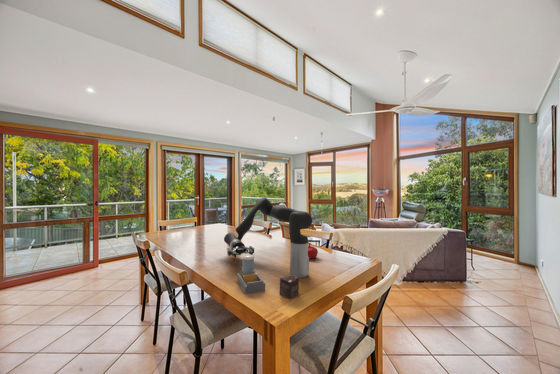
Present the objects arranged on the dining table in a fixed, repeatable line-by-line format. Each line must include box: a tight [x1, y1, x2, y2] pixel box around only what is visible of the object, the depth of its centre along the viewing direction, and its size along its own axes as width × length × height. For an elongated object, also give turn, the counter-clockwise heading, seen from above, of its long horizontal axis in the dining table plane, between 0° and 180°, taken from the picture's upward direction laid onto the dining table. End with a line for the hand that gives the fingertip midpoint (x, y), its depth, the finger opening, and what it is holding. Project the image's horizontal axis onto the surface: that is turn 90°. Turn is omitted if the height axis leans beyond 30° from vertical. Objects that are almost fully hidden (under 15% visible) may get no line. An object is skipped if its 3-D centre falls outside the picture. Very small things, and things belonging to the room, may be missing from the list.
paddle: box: [243, 273, 258, 284], centre depth 107 cm, size 7×1×4 cm, turn 113°
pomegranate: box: [308, 243, 319, 260], centre depth 147 cm, size 10×10×9 cm
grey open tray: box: [237, 270, 266, 295], centre depth 106 cm, size 9×16×4 cm, turn 23°
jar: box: [241, 254, 255, 278], centre depth 110 cm, size 6×6×12 cm
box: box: [279, 273, 300, 300], centre depth 97 cm, size 6×6×7 cm
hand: (243, 254), depth 118 cm, fingers open, 8 cm apart
